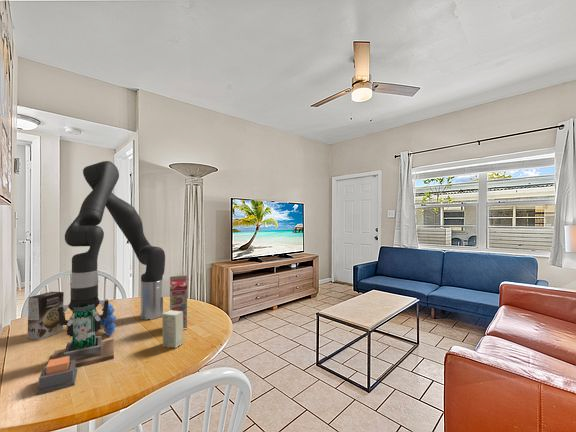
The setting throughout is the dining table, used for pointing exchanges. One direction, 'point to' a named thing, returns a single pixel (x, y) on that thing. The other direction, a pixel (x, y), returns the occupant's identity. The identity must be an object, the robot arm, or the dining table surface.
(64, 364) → the button
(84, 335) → the can
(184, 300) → the juice carton
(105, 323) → the grapes
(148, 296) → the robot arm
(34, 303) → the coffee box
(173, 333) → the skincare box
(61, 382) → the button housing
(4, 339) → the dining table surface
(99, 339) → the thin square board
